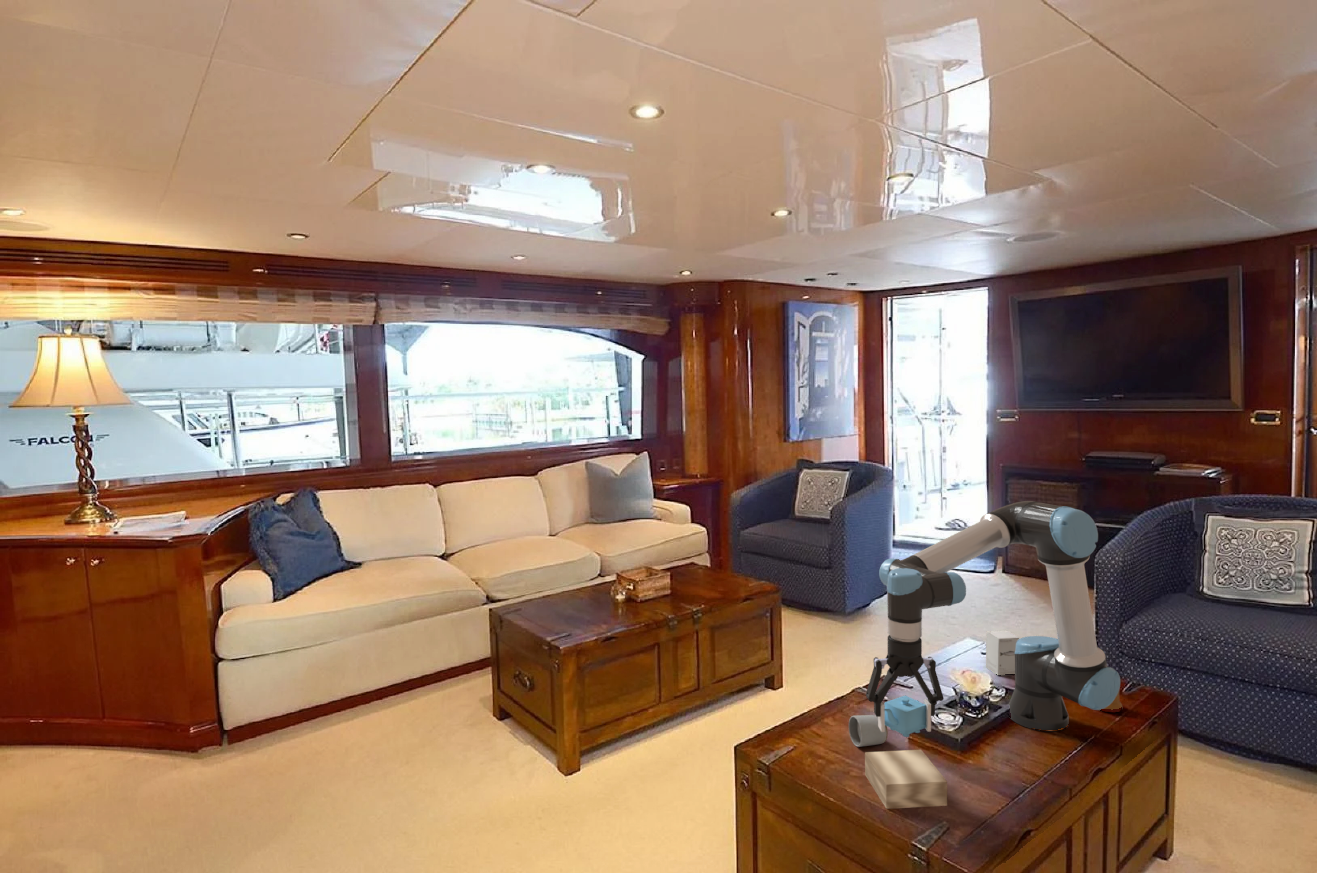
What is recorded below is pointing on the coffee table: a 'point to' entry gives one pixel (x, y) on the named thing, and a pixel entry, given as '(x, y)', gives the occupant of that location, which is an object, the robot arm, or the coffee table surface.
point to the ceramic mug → (866, 730)
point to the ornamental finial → (1115, 703)
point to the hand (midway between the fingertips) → (904, 729)
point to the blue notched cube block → (905, 715)
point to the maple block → (905, 779)
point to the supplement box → (1001, 652)
